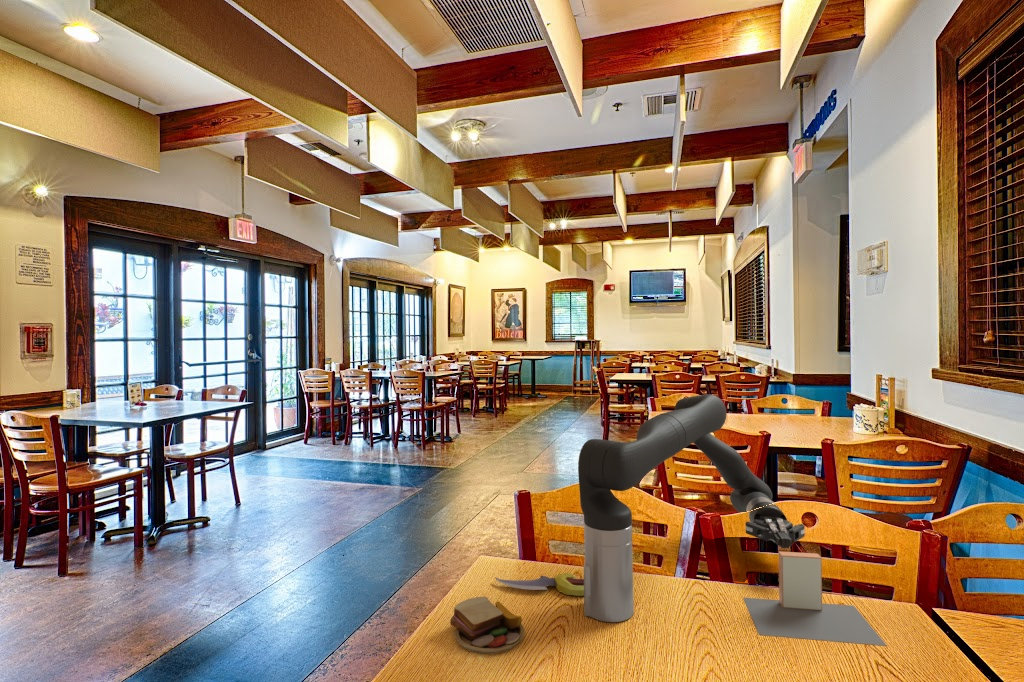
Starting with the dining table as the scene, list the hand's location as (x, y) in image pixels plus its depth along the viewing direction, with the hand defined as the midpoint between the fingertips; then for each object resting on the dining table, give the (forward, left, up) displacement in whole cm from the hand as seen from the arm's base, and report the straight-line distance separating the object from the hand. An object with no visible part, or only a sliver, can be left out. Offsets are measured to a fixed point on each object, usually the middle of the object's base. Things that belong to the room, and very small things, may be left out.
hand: (785, 543), depth 116 cm
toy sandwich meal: (-58, -29, -10) cm, 65 cm away
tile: (0, -10, -8) cm, 13 cm away
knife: (-49, -8, -10) cm, 50 cm away
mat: (0, -15, -9) cm, 18 cm away
